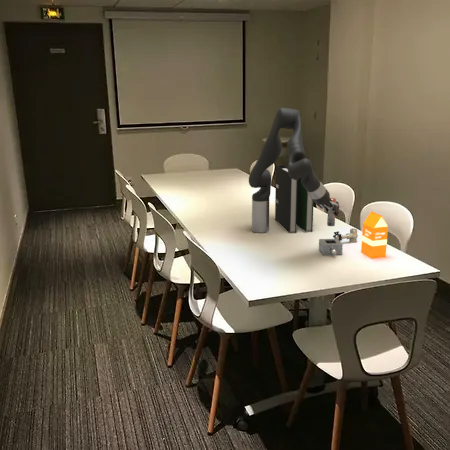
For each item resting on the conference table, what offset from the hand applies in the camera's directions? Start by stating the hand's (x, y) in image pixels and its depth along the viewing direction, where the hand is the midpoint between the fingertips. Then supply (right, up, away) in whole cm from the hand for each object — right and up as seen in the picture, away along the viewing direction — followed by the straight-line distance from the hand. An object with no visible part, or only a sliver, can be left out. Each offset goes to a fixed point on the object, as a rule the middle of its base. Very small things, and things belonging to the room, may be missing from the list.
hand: (334, 213), depth 227 cm
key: (-1, -5, 0) cm, 6 cm away
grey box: (-1, -19, +2) cm, 19 cm away
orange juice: (+18, -19, 0) cm, 26 cm away
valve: (+10, -14, +17) cm, 24 cm away
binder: (-13, -6, +46) cm, 48 cm away
